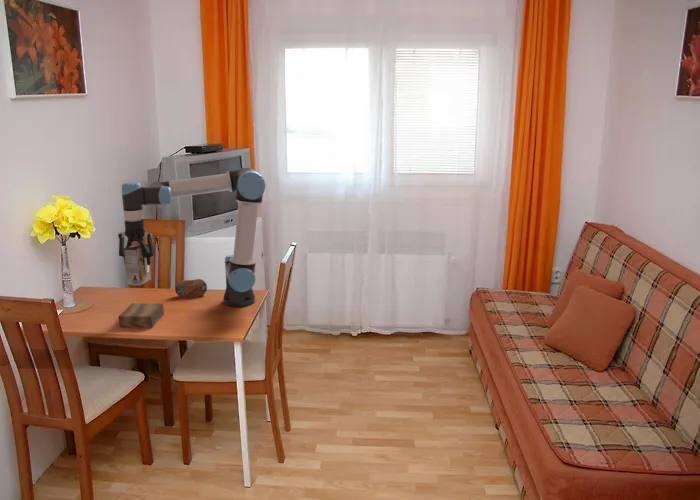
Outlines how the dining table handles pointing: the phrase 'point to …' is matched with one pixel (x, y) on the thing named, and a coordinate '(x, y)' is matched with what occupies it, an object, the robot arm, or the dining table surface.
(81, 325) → the dining table surface
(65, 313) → the dining table surface
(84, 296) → the dining table surface
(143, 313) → the walnut plinth
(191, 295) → the tin
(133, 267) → the coffee box
